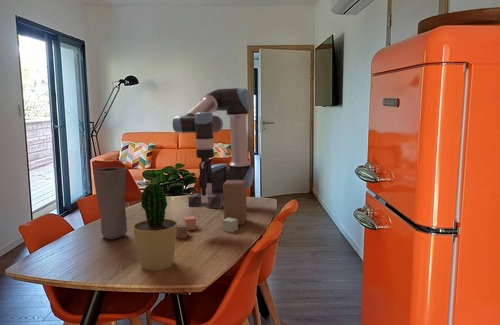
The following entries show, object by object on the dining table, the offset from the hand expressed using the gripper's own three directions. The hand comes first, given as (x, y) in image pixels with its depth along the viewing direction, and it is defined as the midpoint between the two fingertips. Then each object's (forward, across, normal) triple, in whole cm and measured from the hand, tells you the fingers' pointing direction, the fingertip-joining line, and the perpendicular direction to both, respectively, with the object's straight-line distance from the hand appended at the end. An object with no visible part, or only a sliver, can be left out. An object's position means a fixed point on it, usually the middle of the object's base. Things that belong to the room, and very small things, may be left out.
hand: (206, 200), depth 181 cm
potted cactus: (+15, +36, -11) cm, 41 cm away
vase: (+15, +7, -40) cm, 43 cm away
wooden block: (+16, -18, +10) cm, 26 cm away
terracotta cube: (+15, -8, -10) cm, 20 cm away
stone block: (+3, 0, 0) cm, 3 cm away
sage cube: (+15, -6, +9) cm, 19 cm away
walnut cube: (+15, +4, -11) cm, 19 cm away
